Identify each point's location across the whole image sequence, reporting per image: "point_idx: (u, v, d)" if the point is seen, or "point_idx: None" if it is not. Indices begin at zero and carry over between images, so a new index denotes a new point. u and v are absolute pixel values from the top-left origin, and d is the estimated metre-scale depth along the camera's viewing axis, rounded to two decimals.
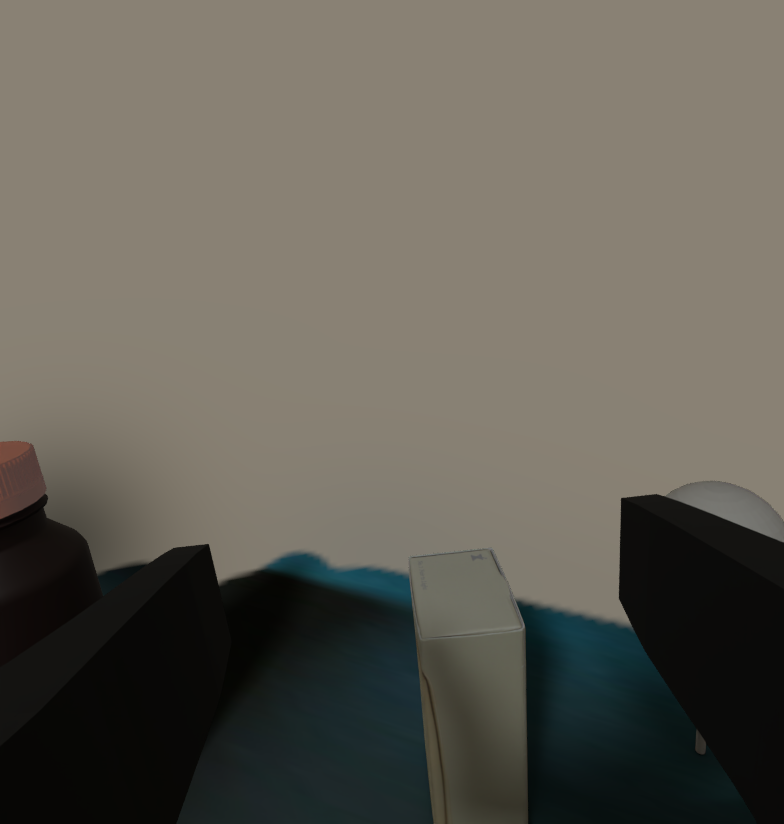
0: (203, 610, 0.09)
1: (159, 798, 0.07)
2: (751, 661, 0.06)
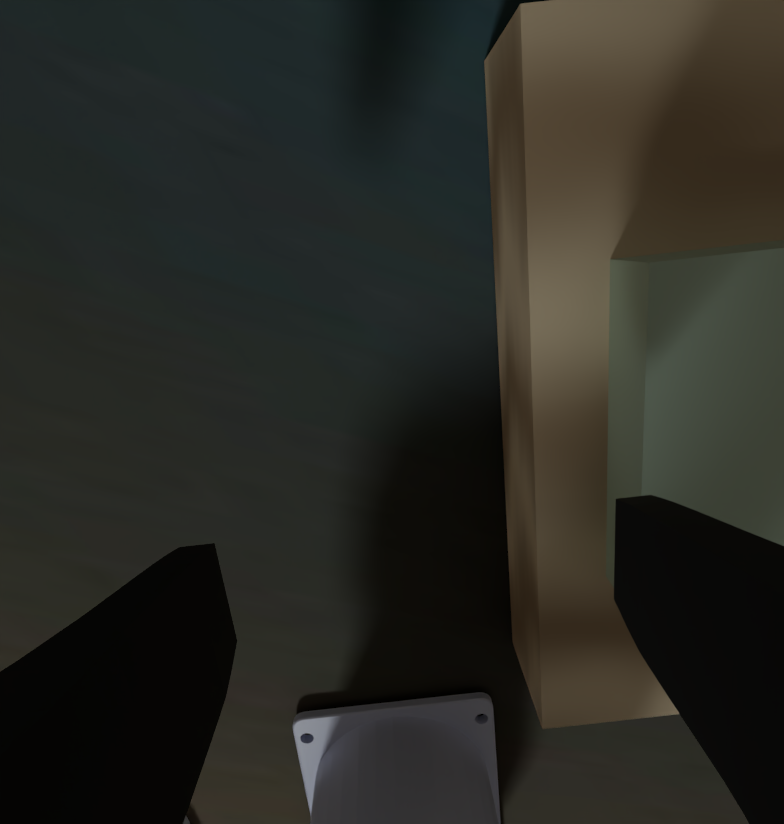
0: (209, 610, 0.09)
1: (166, 797, 0.07)
2: (743, 663, 0.06)
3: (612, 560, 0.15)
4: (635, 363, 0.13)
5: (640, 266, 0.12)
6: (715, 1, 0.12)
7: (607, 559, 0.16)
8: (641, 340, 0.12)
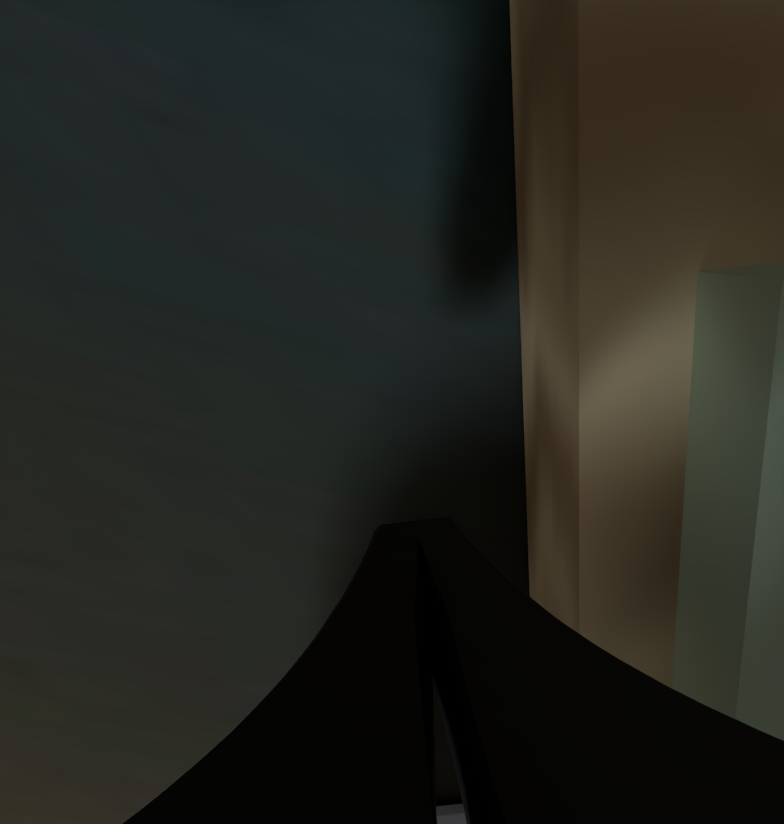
0: None
1: (431, 768, 0.07)
2: (455, 695, 0.06)
3: (684, 682, 0.11)
4: (742, 428, 0.09)
5: (763, 285, 0.08)
6: None
7: (675, 677, 0.12)
8: (757, 397, 0.08)
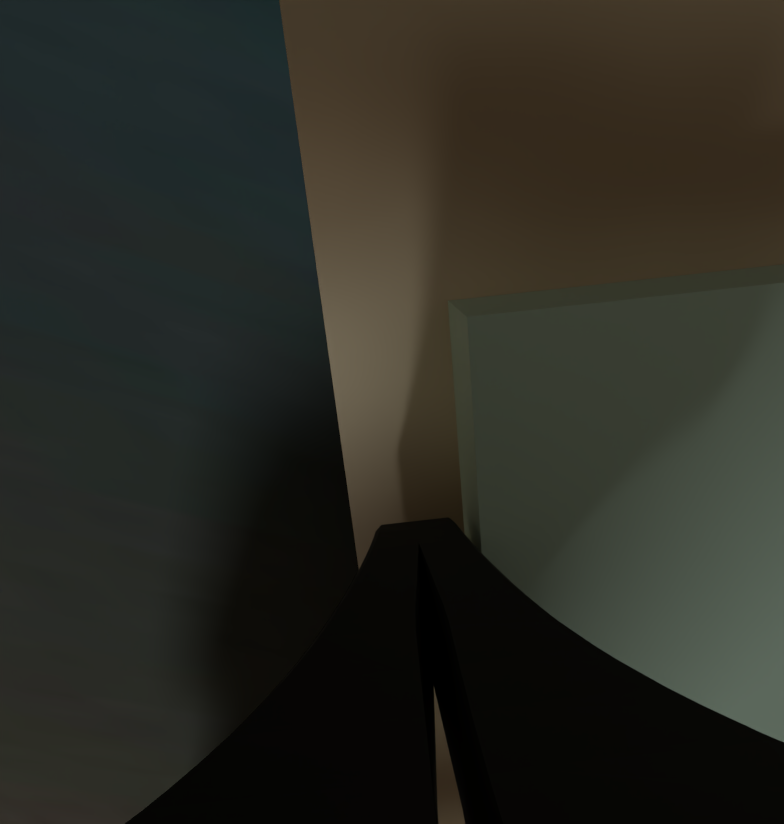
0: None
1: (433, 768, 0.07)
2: (452, 694, 0.06)
3: None
4: (471, 459, 0.09)
5: (463, 320, 0.08)
6: None
7: None
8: (471, 429, 0.08)
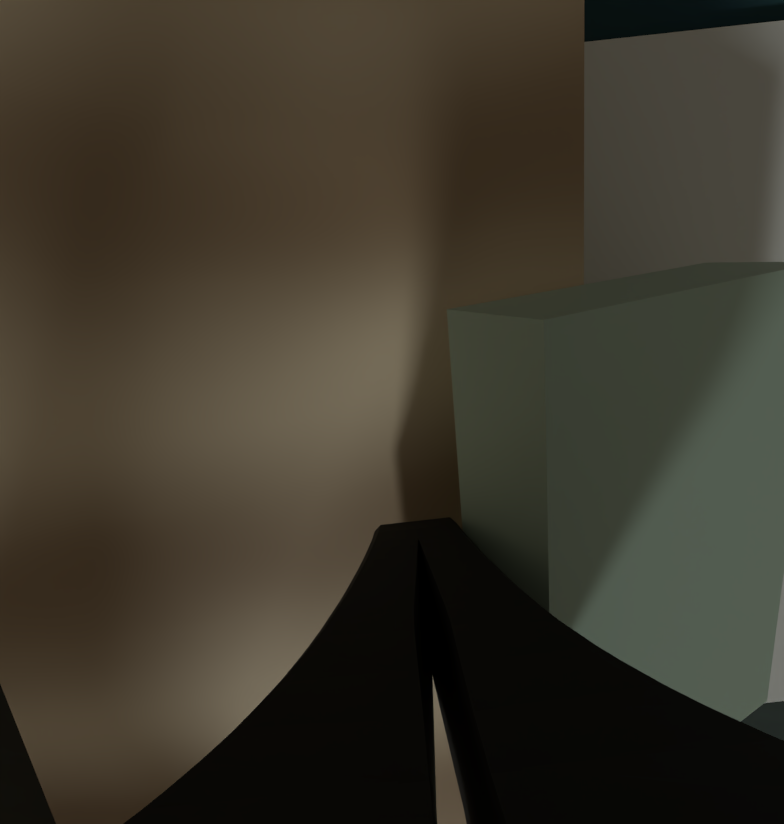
0: None
1: (432, 768, 0.07)
2: (454, 694, 0.06)
3: None
4: (520, 484, 0.07)
5: (522, 326, 0.07)
6: None
7: None
8: (532, 449, 0.07)
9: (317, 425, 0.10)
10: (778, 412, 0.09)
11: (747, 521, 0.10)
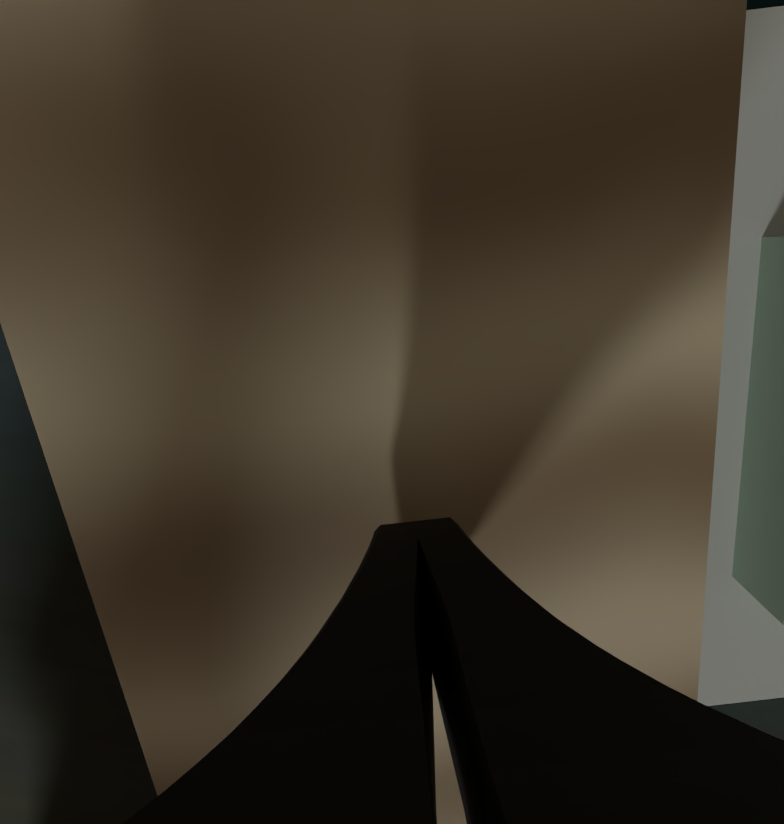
0: None
1: (432, 768, 0.07)
2: (455, 694, 0.06)
3: None
4: None
5: None
6: None
7: None
8: None
9: (450, 406, 0.10)
10: None
11: None
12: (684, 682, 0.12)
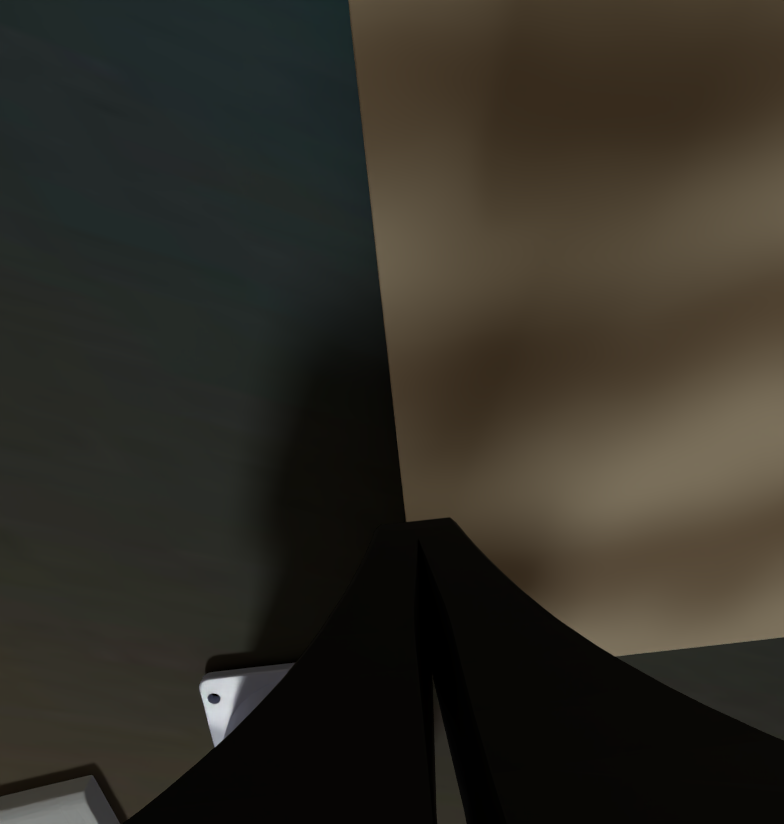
0: None
1: (431, 768, 0.07)
2: (455, 694, 0.06)
3: None
4: None
5: None
6: None
7: None
8: None
9: (654, 261, 0.14)
10: None
11: None
12: None
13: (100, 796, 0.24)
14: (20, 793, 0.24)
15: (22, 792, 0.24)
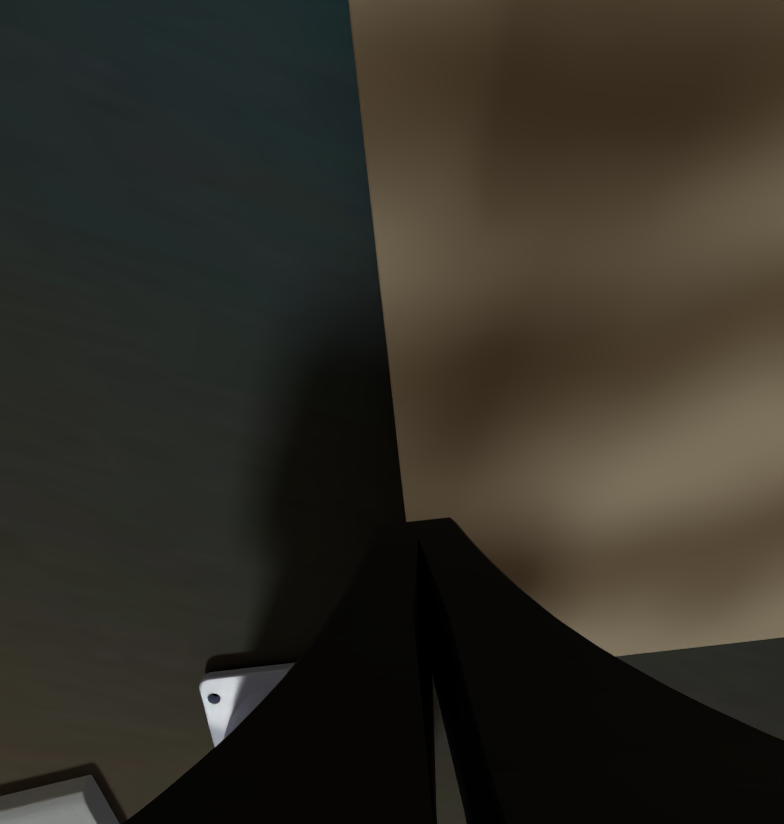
0: None
1: (431, 768, 0.07)
2: (455, 694, 0.06)
3: None
4: None
5: None
6: None
7: None
8: None
9: (654, 261, 0.14)
10: None
11: None
12: None
13: (99, 796, 0.24)
14: (19, 794, 0.24)
15: (21, 792, 0.24)
